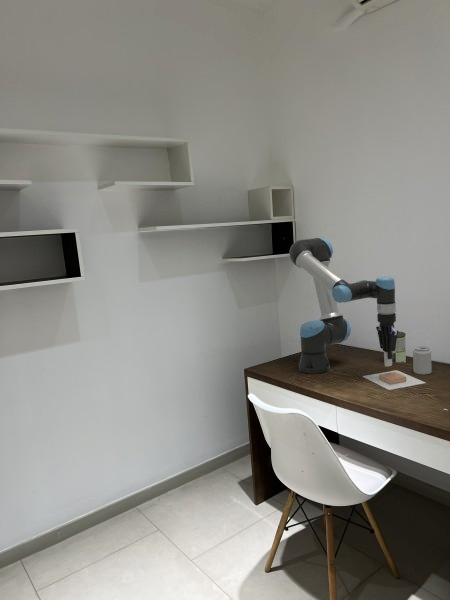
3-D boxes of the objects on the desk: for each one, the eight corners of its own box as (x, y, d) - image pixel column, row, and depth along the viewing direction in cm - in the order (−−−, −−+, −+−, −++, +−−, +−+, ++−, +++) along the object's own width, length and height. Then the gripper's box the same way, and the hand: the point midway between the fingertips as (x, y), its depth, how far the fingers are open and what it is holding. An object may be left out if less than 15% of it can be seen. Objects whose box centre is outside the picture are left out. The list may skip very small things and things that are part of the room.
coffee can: (384, 364, 225) (383, 336, 223) (383, 358, 235) (382, 331, 233) (407, 364, 222) (406, 335, 220) (405, 358, 232) (404, 330, 230)
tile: (379, 374, 202) (390, 379, 194) (394, 371, 204) (406, 376, 196) (379, 379, 202) (390, 384, 195) (395, 376, 204) (406, 381, 197)
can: (434, 372, 208) (433, 346, 206) (428, 377, 202) (427, 350, 200) (417, 369, 213) (416, 344, 211) (410, 374, 207) (410, 348, 206)
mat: (362, 377, 208) (362, 376, 208) (396, 371, 213) (396, 370, 213) (389, 391, 189) (388, 389, 189) (426, 384, 194) (426, 382, 194)
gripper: (370, 311, 204) (372, 363, 207) (387, 316, 191) (389, 370, 194) (384, 309, 205) (386, 360, 209) (403, 313, 193) (405, 368, 196)
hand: (388, 365), depth 202 cm, fingers closed
